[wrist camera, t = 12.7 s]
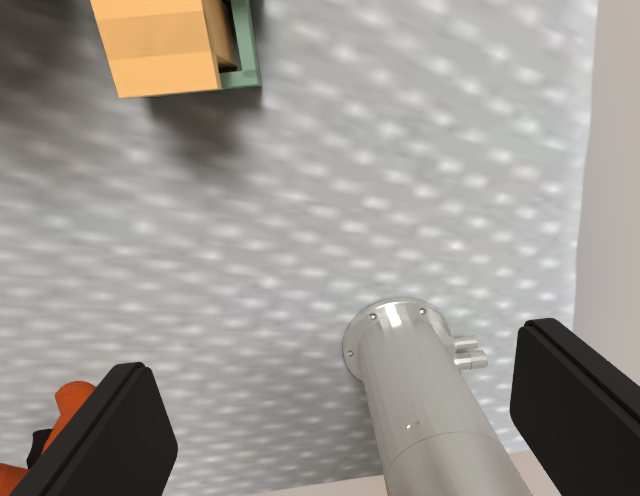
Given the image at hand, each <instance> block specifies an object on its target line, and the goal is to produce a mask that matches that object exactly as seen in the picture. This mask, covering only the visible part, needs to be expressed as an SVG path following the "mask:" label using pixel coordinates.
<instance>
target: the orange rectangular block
mask: <svg viewBox="0 0 640 496" xmlns="http://www.w3.org/2000/svg"><path fill="white" fill-rule="evenodd" d="M90 2H91V5H92V8H93V12H94V15H95V18H96V22H97V25H98V28H99V32H100V35H101V39H102V42H103V45H104V49H105V52H106V55H107V59H108V62H109V66H110V69H111V72H112V76H113V79H114V82H115V86H116V89H117V92H118V96H119V98H136V97H147V96H157V95H168V94H178V93H189V92H200V91H210V90H221V89H222V87H221V81H220V76H219V70H218V68H222V67H233V66H237V61H236V55H235V49H234V43H233V36H232V30H231V24H230V18H229V12H228V8H227V7H226V5H225V4H224V3H223V2H222V0H90Z"/></svg>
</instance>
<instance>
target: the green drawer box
mask: <svg viewBox="0 0 640 496" xmlns="http://www.w3.org/2000/svg"><path fill="white" fill-rule="evenodd" d="M231 6H232V12H233V18H234V24H235V30H236V36H237V42H238V48H239V54H240V60H241V66H242V71H237V72H227V73H219V76H220V81H221V87H222V89H221V90H227V89H237V88H247V87H256V86H262V83H261V76H260V69H259V63H258V56H257V49H256V42H255V36H254V29H253V22H252V15H251V9H250V2H249V0H231ZM210 91H218V90H210ZM200 92H208V91H200ZM189 93H199V92H189ZM189 93H178V94H168V95H157V96H147V97H145V98H150V97H160V96H170V95H179V94H189Z"/></svg>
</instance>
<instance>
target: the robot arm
mask: <svg viewBox="0 0 640 496" xmlns="http://www.w3.org/2000/svg"><path fill="white" fill-rule="evenodd" d="M477 346H478V343H477V339H476V338H475V336H465V337H461V338H454V337H453V336H451V331H450V328H449V326H448V323H447V322H446V320H445V319H444V317H443V316H442V315H441V313H440V312H439V311H438V310H437V309H436V308H434V307H433V306H431V305H430V304H428V303H426V302H423V301H421V300H417V299H413V298H392V299H387V300H384V301H380V302H378V303H375V304H373V305H371V306H369V307H368V308H366V309H365V310H363V311H362V312H360V313H359V314H358V315H357V316H356V317H355V318H354V319H353V321H352V322H351V323H350V325H349V326H348V328H347V330H346V333H345V335H344V340H343V354H344V360H345V362H346V365H347V367H348V369H349V370H350V371H351V373H352V374H353V375H354V376H355V377H356V378H357V379H358V380H360V381H362V382H363V383H364V388H365V392H366V397H367V401H368V406H369V411H370V415H371V420H372V424H373V429H374V433H375V438H376V442H377V447H378V452H379V456H380V461H381V465H382V470H383V474H384V479H385V483H386V489H387V493H388V496H533V495H532V494H531V492H530V490H529V489H528V487H527V485H526V484H525V482H524V481H523V479H522V477H521V476H520V474H519V472H518V470H517V469H516V467H515V465H514V464H513V462H512V460H511V459H510V457H509V455H508V453H507V452H506V450H505V448H504V446H503V445H502V443H501V441H500V440H499V438H498V436H497V435H496V433H495V431H494V429H493V428H492V426H491V424H490V423H489V421H488V419H487V417H486V416H485V414H484V412H483V411H482V409H481V407H480V406H479V404H478V402H477V400H476V399H475V397H474V395H473V394H472V392H471V390H470V388H469V387H468V385H467V383H466V382H465V380H464V378H463V377H462V375H461V373H460V369H467V368H469V369H478V368H486V367H487V364H488V363H487V357H486V355H485V353H484V351H483V350H477V351H468V352H465V353H457V354H456V351H457V350H459V349H464V350H465V349H474V348H477ZM510 415H511V419H512V421H513V423H514V425H515V427H516V428H517V430H518V431H519V433H520V434H521V436H522V437H523V439H524V440H525V441H526V443H527V444H528V446H529V447H530V449H531V450H532V452H533V453H534V455H535V456H536V458H537V459H538V461H539V462H540V464H541V465H542V467H543V468H544V470H545V471H546V473H547V474H548V476H549V477H550V479H551V480H552V482H553V483H554V485H555V486H556V487H557V489H558V490H559V492H560V494H561V495H562V496H640V386H638V385H637V384H636V383H635V382H633V381H632V380H631V379H630V378H628V377H627V376H626V375H625V374H623V373H622V372H621V371H620V370H618V369H617V368H616V367H615V366H613V365H612V364H611V363H610V362H609V361H607V360H606V359H605V358H604V357H602V356H601V355H600V354H599V353H597V352H596V351H594V349H592V348H591V347H590V346H588V345H587V344H586V343H585V342H584V341H582V340H581V339H580V338H579V337H577V336H576V335H575V334H574V333H572V332H571V331H570V330H569V329H568V328H566V327H565V326H564V325H563V324H561V323H560V322H559V321H558V320H556V319H554V318H545V319H535V320H528V321H526V323H525V324H524V327H521V328H520V329H519V331H518V338H517V347H516V356H515V365H514V374H513V383H512V392H511V401H510ZM177 452H178V445H177V441H176V438H175V435H174V433H173V430H172V427H171V424H170V421H169V418H168V416H167V413H166V410H165V407H164V404H163V401H162V398H161V396H160V393H159V390H158V387H157V384H156V381H155V378H154V376H153V373H152V370H151V369H150V368H149V367H145V365H144V364H143V363H142V362H134V363H124V364H117V365H115V366H114V367H113V368H112V369H111V370H110V371H109V373H108V374H107V375H106V376H105V377H104V379H103V380H102V381H101V382H100V384H99V385H98V386H97V387H96V389H95V390H94V391H93V392H92V393H91V395H90V396H89V397H88V398H87V400H86V401H85V402H84V403H83V405H82V406H81V407H80V408H79V409H78V411H77V412H76V413H75V414H74V416H73V417H72V418H71V419H70V421H69V422H68V423H67V424H66V425H65V427H64V428H63V429H62V430H61V432H60V433H59V434H58V435H57V437H56V438H55V439H54V440H53V441H52V443H51V444H50V445H49V446H48V448H47V449H46V450H45V451H44V452H43V454H42V455H41V456H40V457H39V459H38V460H37V461H36V462H35V464H34V465H33V466H32V467H31V468H30V470H29V471H28V472H27V473H26V475H25V476H24V477H23V478H22V480H21V481H20V482H19V483H18V484H17V486H16V487H15V488H14V489H13V491H12V492H11V493H10V494H9V496H161V495H162V493H163V490H164V488H165V486H166V483H167V481H168V478H169V476H170V473H171V471H172V468H173V466H174V463H175V461H176V458H177Z"/></svg>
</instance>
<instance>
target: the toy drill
mask: <svg viewBox="0 0 640 496" xmlns="http://www.w3.org/2000/svg"><path fill="white" fill-rule="evenodd" d="M95 389H96V388H95V387H94V386H93V385H91V384H89V383H87V382H83V381H75V382H71V383H68V384H66V385H64V386H63V387H61V388H60V389H59V390H58V391H57V392H56V393H55V399H56V402H57V405H58V408H59V411H60V414H61V415H60V417H59V419H58V420H57V422H56V424H55V426H54V427H53V428H52V429H44V430H38V431H36V432H34V433H33V443H32V448H31V451H30V453H29V456H28V458H27V460H26V461H27V466H28V469H25V468H20V467H15V466H11V465H7V464H3V463H0V496H9V494H10V493H11V492H12V491H13V489H14V488H15V487H16V486H17V484H18V483H19V482H20V481H21V480H22V478H23V477H24V476H25V475H26V473H27V472H28V471H29V470H30V468H31V467H32V466H33V465H34V464H35V462H36V461H37V460H38V459H39V457H40V456H41V455H42V454H43V452H44V451H45V450H46V449H47V448H48V446H49V445H50V444H51V443H52V441H53V440H54V439H55V438H56V437H57V435H58V434H59V433H60V432H61V430H62V429H63V428H64V427H65V425H66V424H67V423H68V422H69V421H70V419H71V418H72V417H73V416H74V414H75V413H76V412H77V411H78V409H79V408H80V407H81V406H82V405H83V403H84V402H85V401H86V400H87V398H88V397H89V396H90V395H91V393H92V392H93V391H94V390H95Z"/></svg>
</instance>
